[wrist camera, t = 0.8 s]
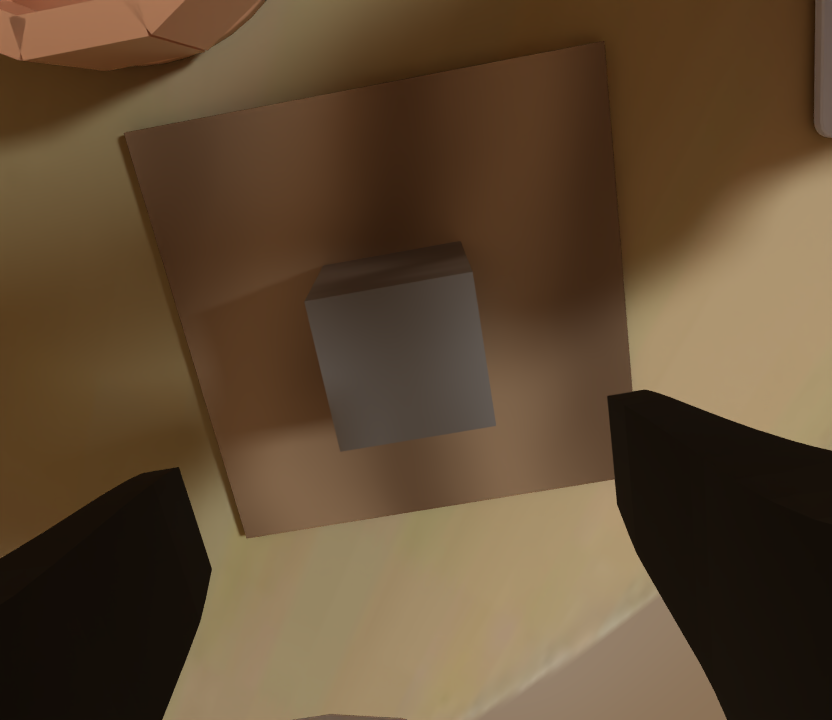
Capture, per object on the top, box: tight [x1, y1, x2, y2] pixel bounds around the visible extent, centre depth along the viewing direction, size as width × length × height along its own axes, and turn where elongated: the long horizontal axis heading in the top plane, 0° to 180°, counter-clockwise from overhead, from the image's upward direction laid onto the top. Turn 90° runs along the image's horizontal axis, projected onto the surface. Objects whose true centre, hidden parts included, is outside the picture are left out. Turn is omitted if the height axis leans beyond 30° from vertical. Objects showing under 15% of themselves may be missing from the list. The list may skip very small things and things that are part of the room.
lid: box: [124, 41, 632, 538], centre depth 20 cm, size 13×13×5 cm
